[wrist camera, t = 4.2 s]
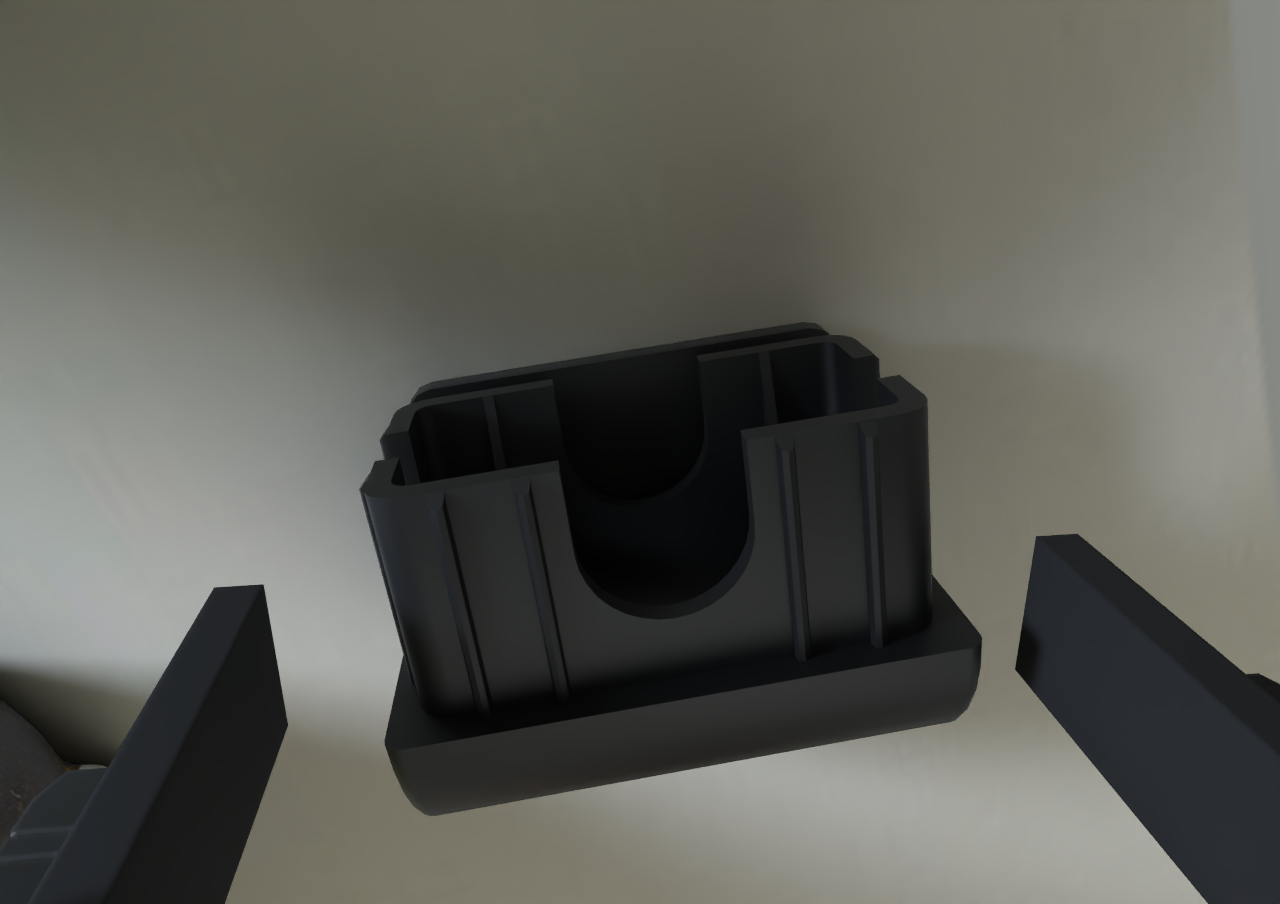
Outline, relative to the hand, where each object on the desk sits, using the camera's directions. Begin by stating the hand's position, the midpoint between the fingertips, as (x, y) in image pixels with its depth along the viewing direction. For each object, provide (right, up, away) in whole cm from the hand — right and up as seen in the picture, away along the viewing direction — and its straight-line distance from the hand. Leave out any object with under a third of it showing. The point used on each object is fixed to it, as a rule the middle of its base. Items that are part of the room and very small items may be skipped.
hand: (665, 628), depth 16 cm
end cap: (0, +2, +5) cm, 6 cm away
